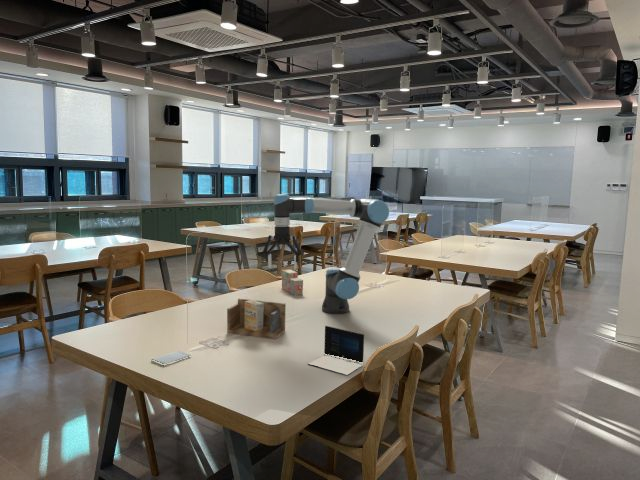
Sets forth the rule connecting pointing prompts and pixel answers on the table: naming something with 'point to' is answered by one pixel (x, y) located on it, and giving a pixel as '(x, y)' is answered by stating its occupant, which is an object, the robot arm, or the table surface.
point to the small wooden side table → (271, 319)
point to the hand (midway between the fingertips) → (282, 268)
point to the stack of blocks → (292, 282)
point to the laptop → (344, 343)
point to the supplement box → (253, 315)
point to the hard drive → (171, 357)
